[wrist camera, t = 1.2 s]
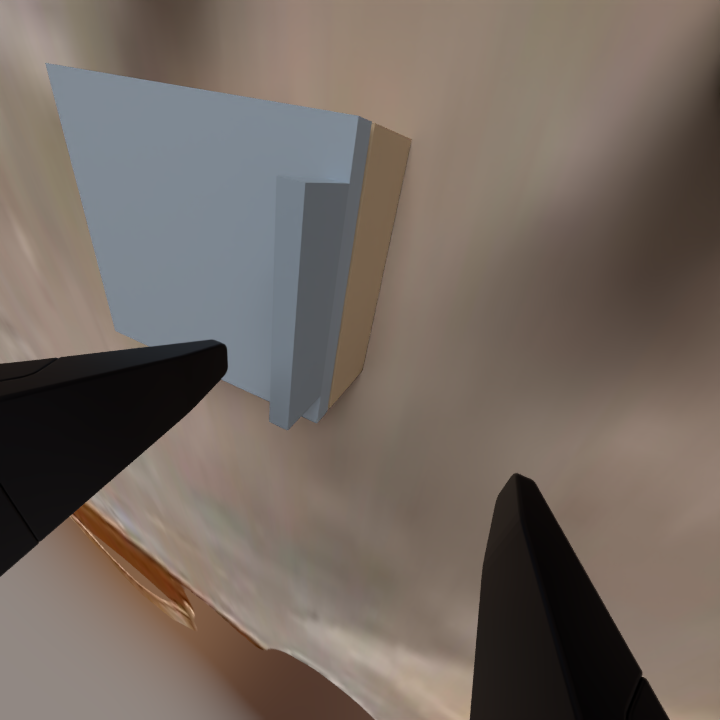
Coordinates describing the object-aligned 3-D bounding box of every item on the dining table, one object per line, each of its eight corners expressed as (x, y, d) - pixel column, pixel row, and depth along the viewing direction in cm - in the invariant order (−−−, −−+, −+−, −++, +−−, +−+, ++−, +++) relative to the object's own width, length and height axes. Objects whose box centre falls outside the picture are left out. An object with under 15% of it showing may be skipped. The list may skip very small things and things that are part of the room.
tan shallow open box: (411, 139, 16) (374, 123, 12) (362, 370, 23) (329, 408, 19) (169, 95, 20) (81, 72, 16) (192, 303, 28) (136, 323, 23)
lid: (372, 121, 12) (311, 94, 8) (327, 411, 19) (285, 460, 16) (74, 70, 16) (-48, 38, 12) (132, 324, 23) (65, 348, 20)
